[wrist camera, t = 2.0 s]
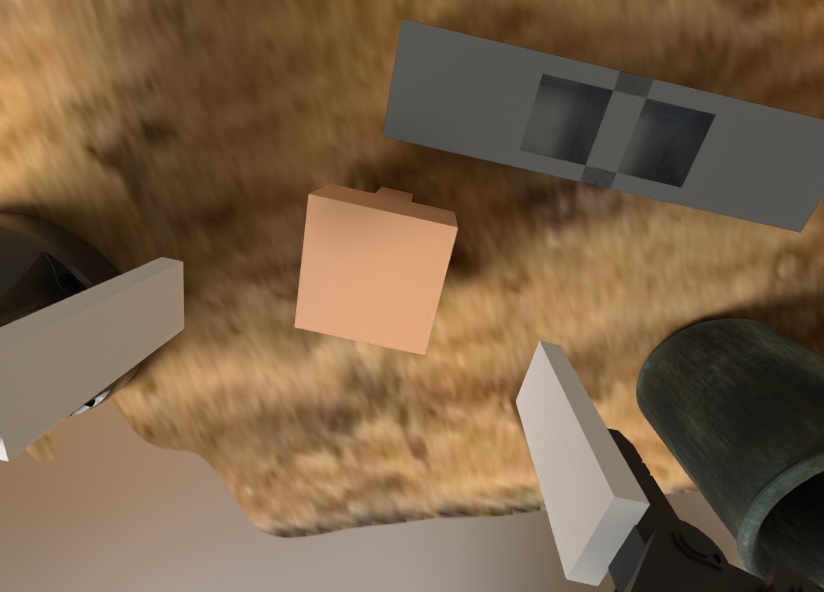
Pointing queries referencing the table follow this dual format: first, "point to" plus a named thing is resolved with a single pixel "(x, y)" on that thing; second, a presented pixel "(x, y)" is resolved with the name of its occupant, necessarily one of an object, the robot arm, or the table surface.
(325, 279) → the tan block with tab
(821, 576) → the mug
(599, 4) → the table surface
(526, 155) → the rail
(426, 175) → the table surface
